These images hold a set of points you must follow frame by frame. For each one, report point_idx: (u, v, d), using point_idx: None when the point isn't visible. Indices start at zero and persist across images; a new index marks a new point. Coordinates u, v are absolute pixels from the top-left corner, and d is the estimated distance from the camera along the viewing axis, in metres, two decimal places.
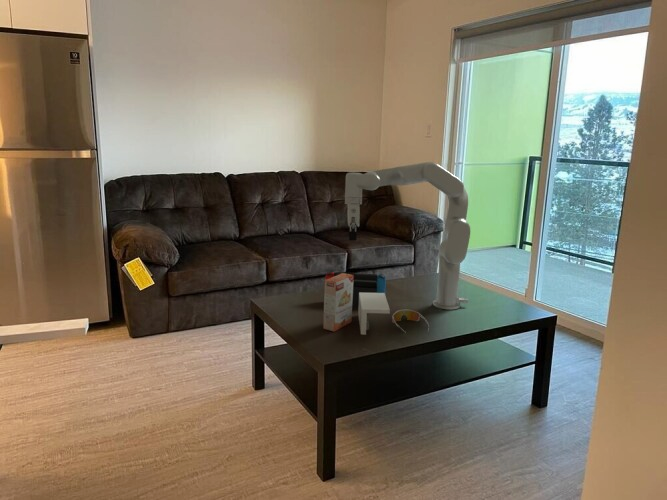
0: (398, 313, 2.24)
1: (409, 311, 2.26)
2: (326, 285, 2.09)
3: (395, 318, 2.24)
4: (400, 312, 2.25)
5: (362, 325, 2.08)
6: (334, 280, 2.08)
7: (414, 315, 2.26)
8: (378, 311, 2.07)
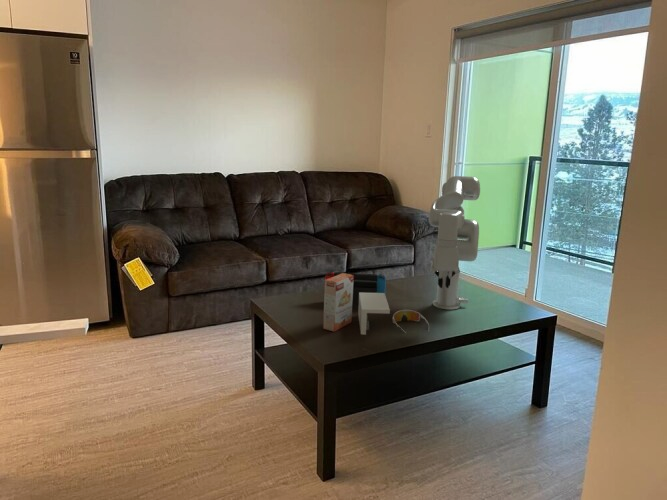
0: (398, 313, 2.24)
1: (409, 311, 2.25)
2: (326, 285, 2.09)
3: (395, 318, 2.24)
4: (400, 312, 2.25)
5: (362, 325, 2.08)
6: (334, 280, 2.08)
7: (414, 315, 2.25)
8: (378, 311, 2.07)
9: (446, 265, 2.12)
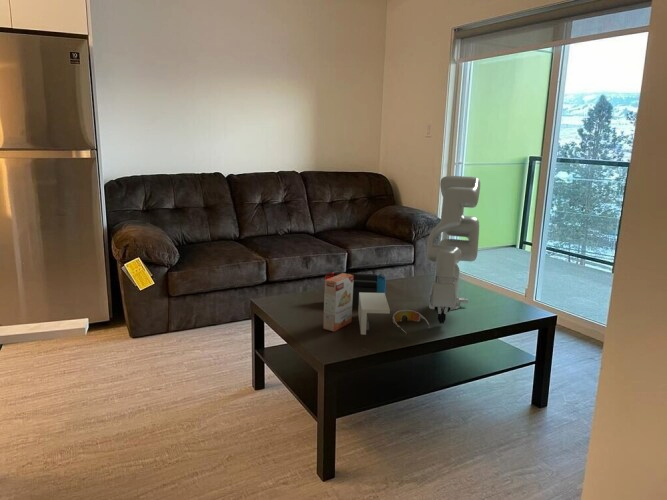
0: (399, 313, 2.24)
1: (409, 311, 2.25)
2: (326, 285, 2.09)
3: (395, 318, 2.23)
4: (401, 312, 2.24)
5: (362, 325, 2.08)
6: (334, 280, 2.08)
7: (415, 315, 2.25)
8: (378, 311, 2.07)
9: (444, 301, 2.15)
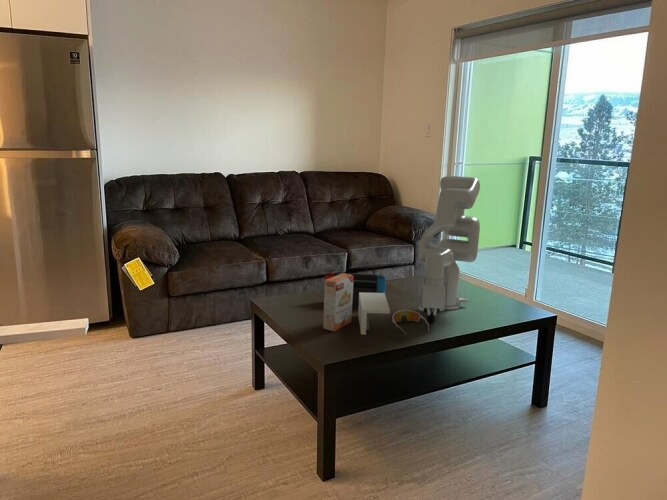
0: (398, 313, 2.24)
1: (409, 311, 2.25)
2: (326, 285, 2.09)
3: (395, 318, 2.23)
4: (400, 312, 2.24)
5: (362, 325, 2.08)
6: (334, 280, 2.08)
7: (414, 315, 2.25)
8: (378, 311, 2.07)
9: (433, 303, 2.15)
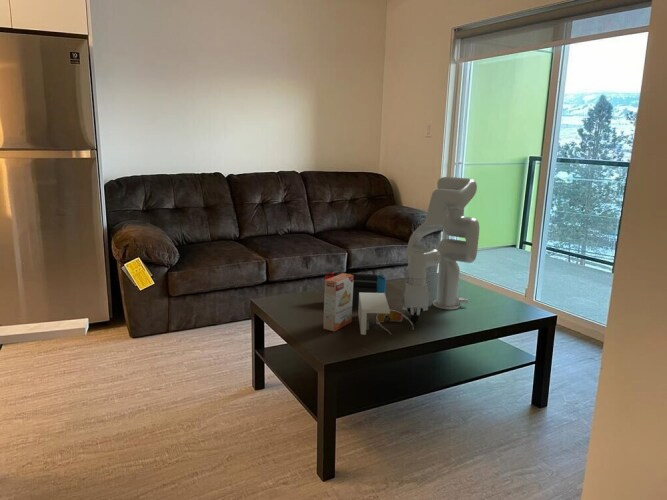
0: (381, 314, 2.22)
1: (391, 311, 2.24)
2: (326, 285, 2.09)
3: (378, 319, 2.22)
4: (383, 313, 2.23)
5: (362, 325, 2.08)
6: (334, 280, 2.08)
7: (397, 315, 2.24)
8: (378, 311, 2.07)
9: (416, 303, 2.15)
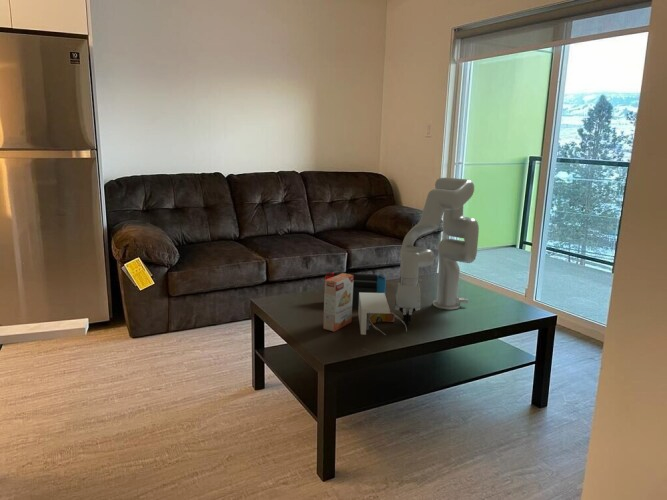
0: (373, 315, 2.21)
1: None
2: (326, 285, 2.09)
3: (371, 320, 2.20)
4: (375, 314, 2.22)
5: (362, 325, 2.08)
6: (334, 280, 2.08)
7: (389, 316, 2.24)
8: (378, 311, 2.07)
9: (408, 303, 2.15)
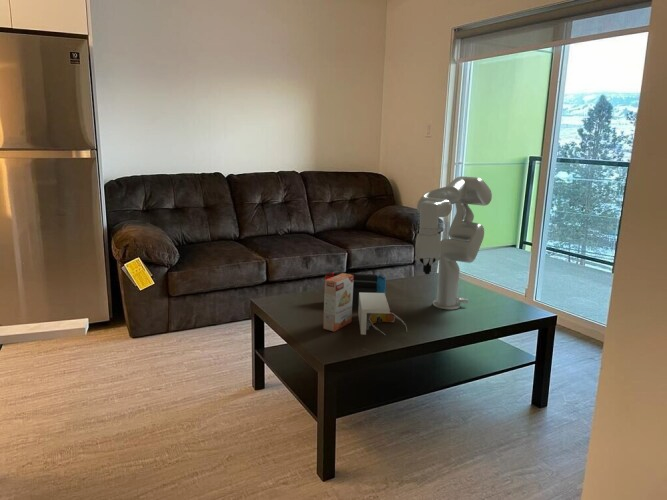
0: (374, 315, 2.21)
1: None
2: (326, 285, 2.09)
3: (371, 320, 2.20)
4: (375, 314, 2.22)
5: (362, 325, 2.08)
6: (334, 280, 2.08)
7: (389, 316, 2.24)
8: (378, 311, 2.07)
9: (429, 253, 2.18)
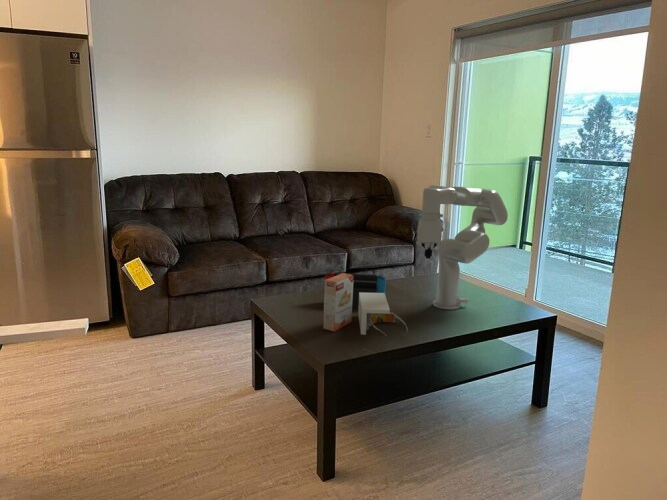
0: (374, 315, 2.21)
1: None
2: (326, 285, 2.09)
3: (371, 321, 2.20)
4: (376, 314, 2.21)
5: (362, 325, 2.08)
6: (334, 280, 2.08)
7: (389, 316, 2.23)
8: (378, 311, 2.07)
9: (430, 237, 2.27)
